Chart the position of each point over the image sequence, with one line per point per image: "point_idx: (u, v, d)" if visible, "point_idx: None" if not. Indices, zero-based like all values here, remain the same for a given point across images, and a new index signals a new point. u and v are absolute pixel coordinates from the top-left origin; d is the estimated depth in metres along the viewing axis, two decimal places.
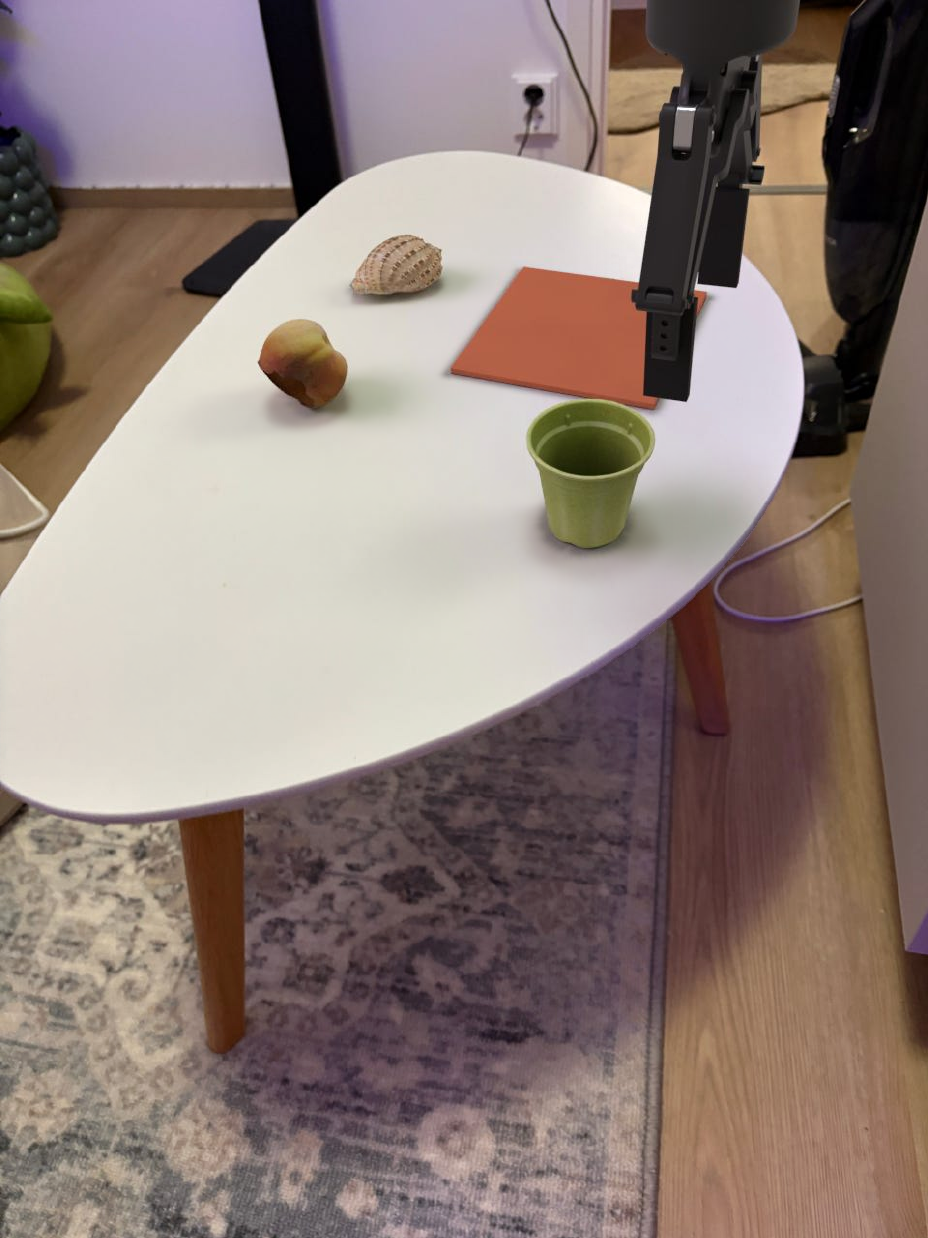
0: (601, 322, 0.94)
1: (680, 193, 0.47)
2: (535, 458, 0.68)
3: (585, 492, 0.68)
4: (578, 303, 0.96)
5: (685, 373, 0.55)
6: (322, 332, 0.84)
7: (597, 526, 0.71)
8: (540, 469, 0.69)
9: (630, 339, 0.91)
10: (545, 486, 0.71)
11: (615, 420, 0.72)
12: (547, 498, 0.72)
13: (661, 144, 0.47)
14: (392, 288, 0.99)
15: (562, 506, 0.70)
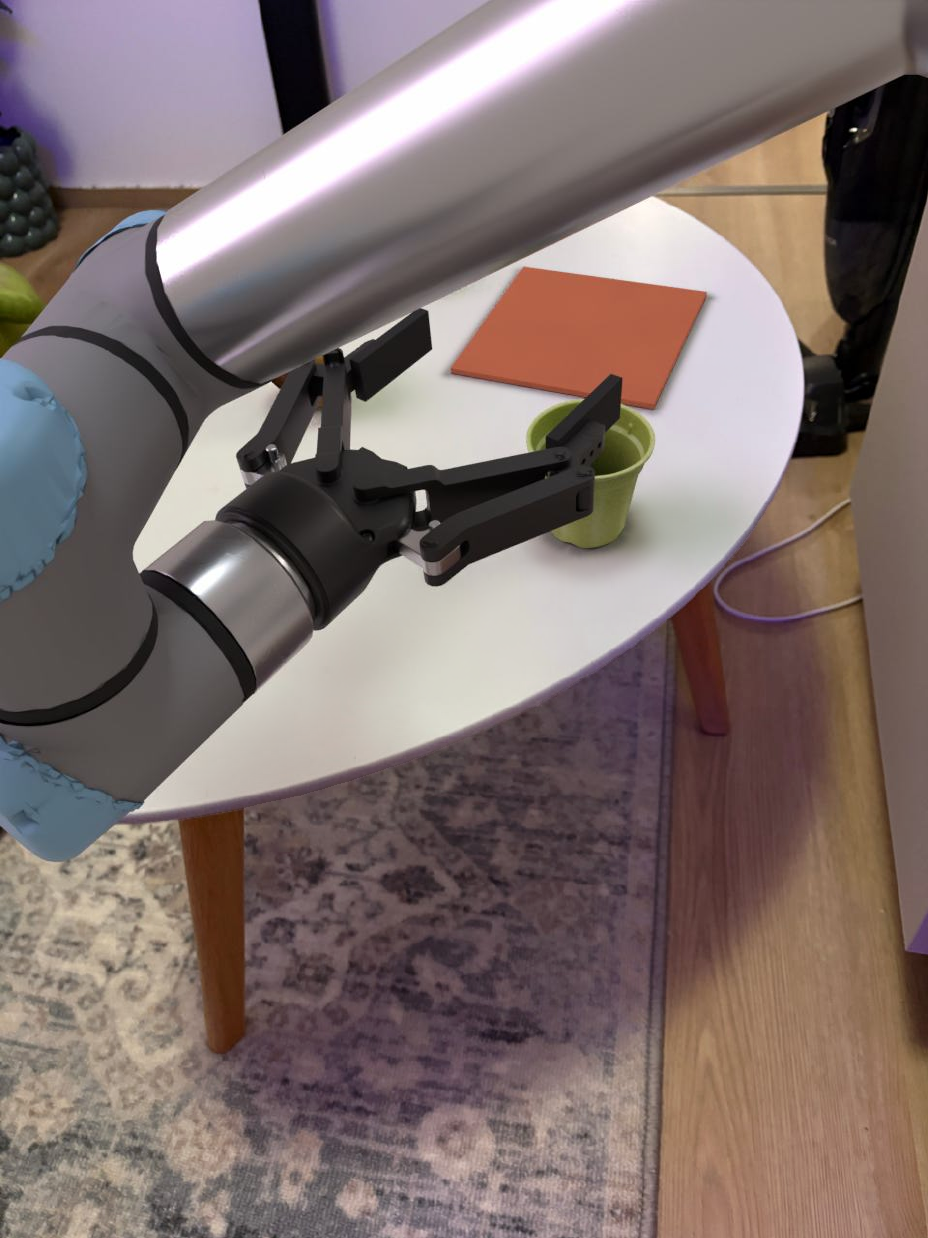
0: (601, 322, 0.94)
1: (496, 531, 0.46)
2: None
3: None
4: (578, 303, 0.96)
5: (603, 399, 0.51)
6: None
7: (597, 526, 0.71)
8: None
9: (630, 339, 0.91)
10: None
11: None
12: None
13: (461, 568, 0.46)
14: None
15: None
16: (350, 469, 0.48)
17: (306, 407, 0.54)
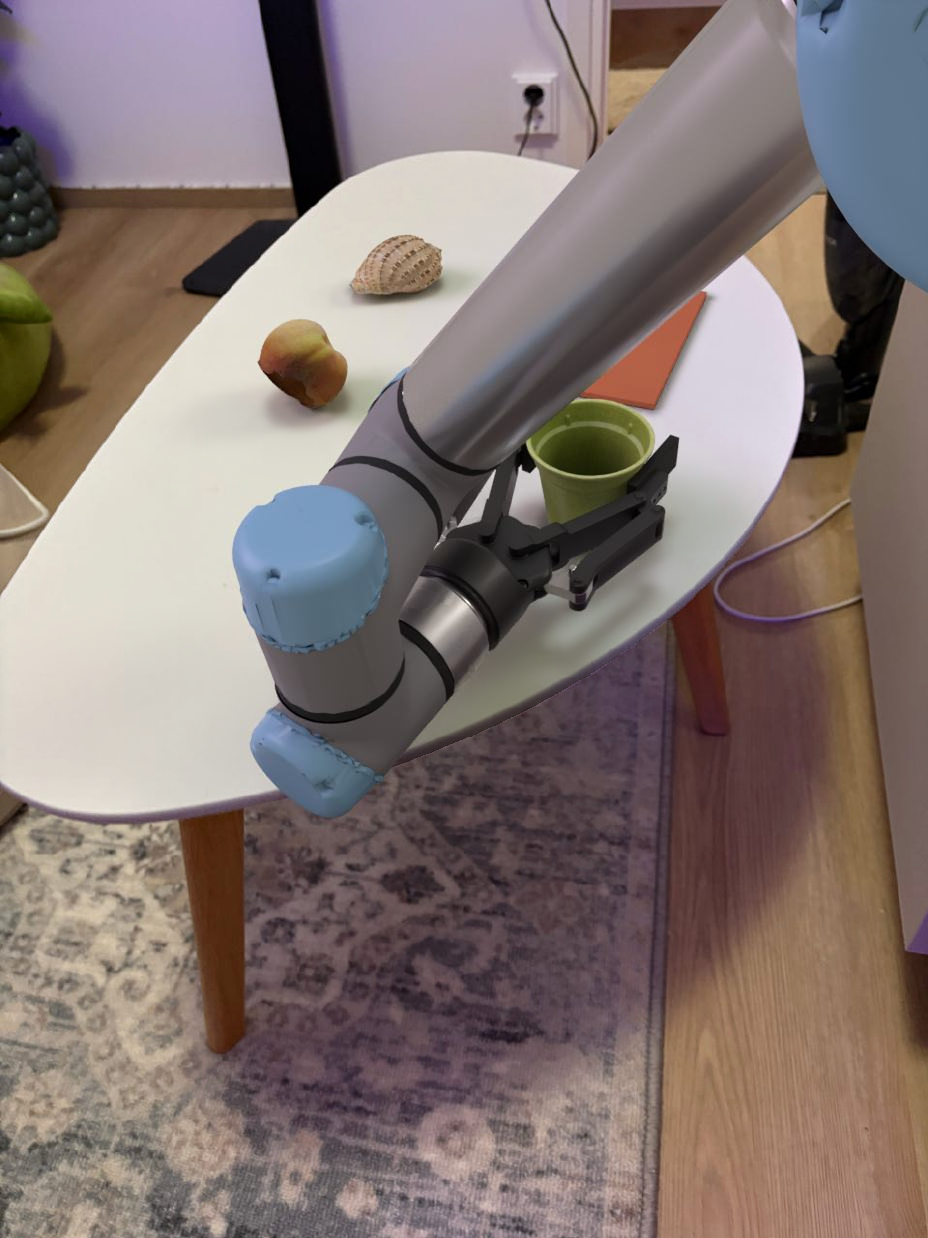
0: None
1: (612, 563, 0.64)
2: (535, 458, 0.68)
3: (585, 492, 0.68)
4: None
5: (666, 454, 0.69)
6: (322, 332, 0.84)
7: None
8: (540, 469, 0.69)
9: None
10: (545, 486, 0.71)
11: (615, 420, 0.72)
12: (547, 498, 0.72)
13: (592, 594, 0.64)
14: (392, 288, 0.99)
15: (562, 506, 0.70)
16: (501, 532, 0.65)
17: (480, 480, 0.71)
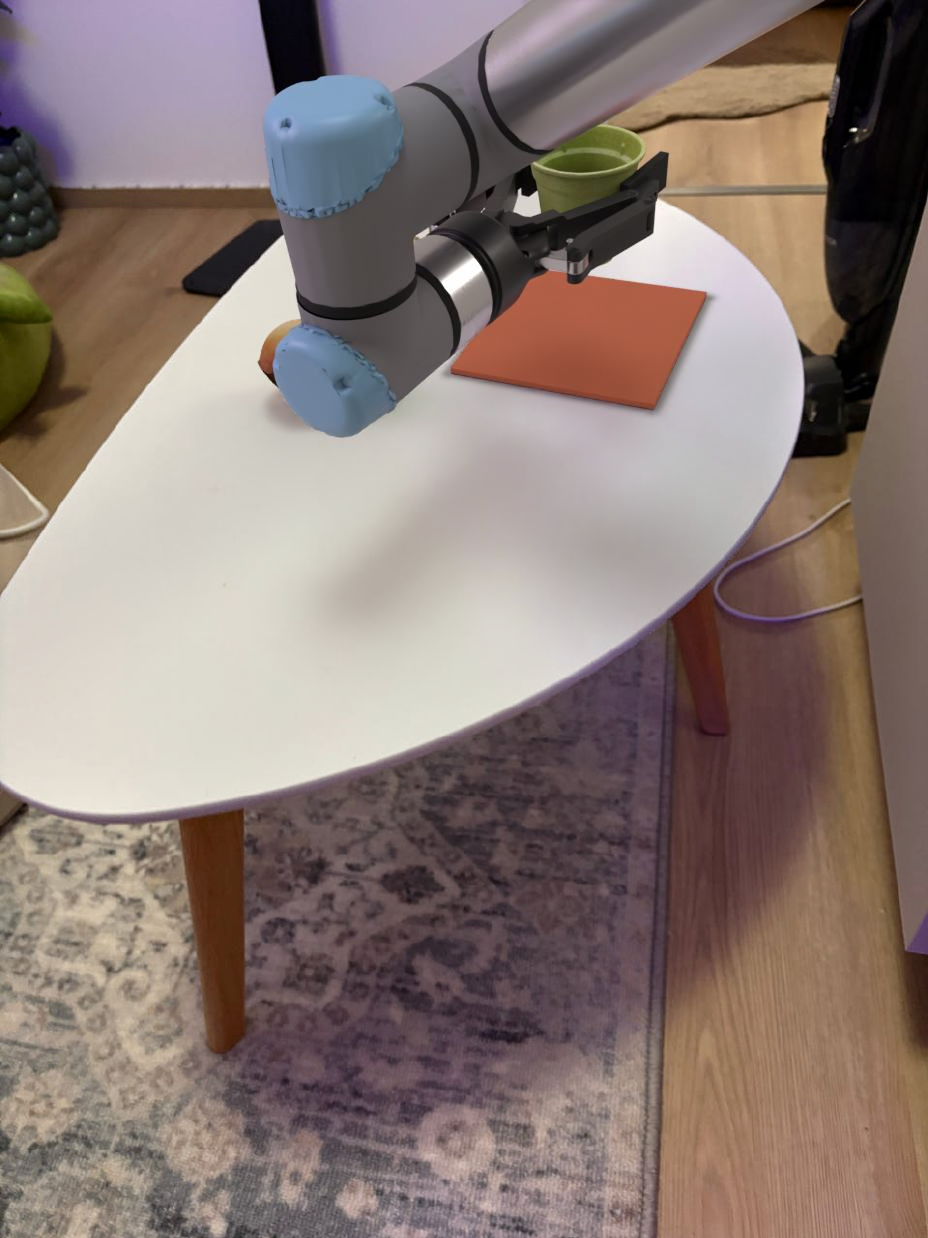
0: (601, 322, 0.94)
1: (606, 242, 0.68)
2: (534, 163, 0.72)
3: (581, 196, 0.73)
4: (578, 303, 0.96)
5: (656, 164, 0.74)
6: None
7: None
8: (538, 178, 0.73)
9: (630, 339, 0.91)
10: (543, 200, 0.75)
11: (608, 144, 0.77)
12: None
13: (588, 271, 0.68)
14: None
15: None
16: (503, 221, 0.70)
17: (482, 196, 0.76)
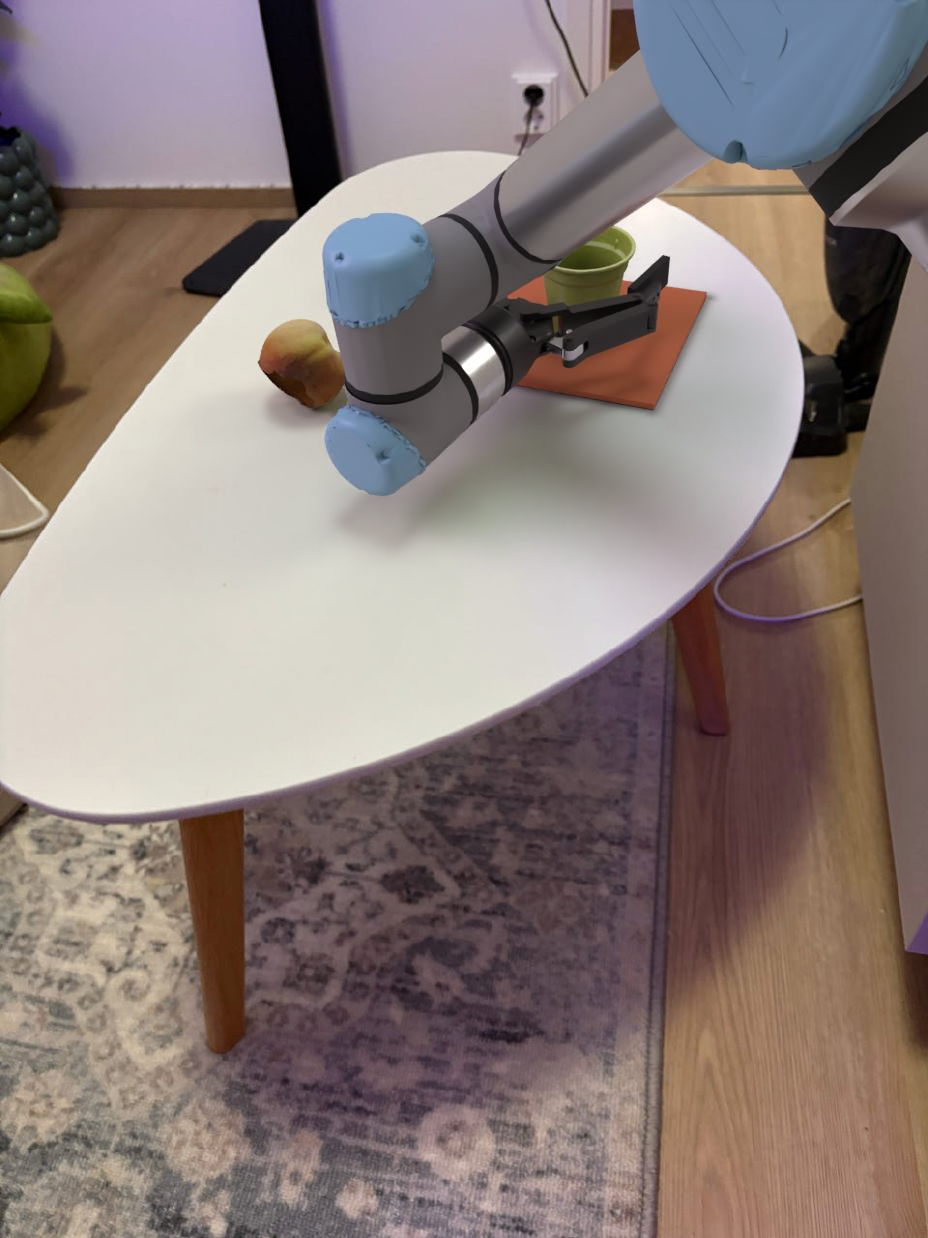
0: None
1: (603, 336, 0.80)
2: None
3: (580, 287, 0.86)
4: None
5: (659, 268, 0.85)
6: (322, 332, 0.84)
7: None
8: None
9: None
10: (548, 288, 0.88)
11: (604, 238, 0.90)
12: (550, 300, 0.89)
13: (583, 358, 0.80)
14: None
15: None
16: (514, 307, 0.82)
17: None
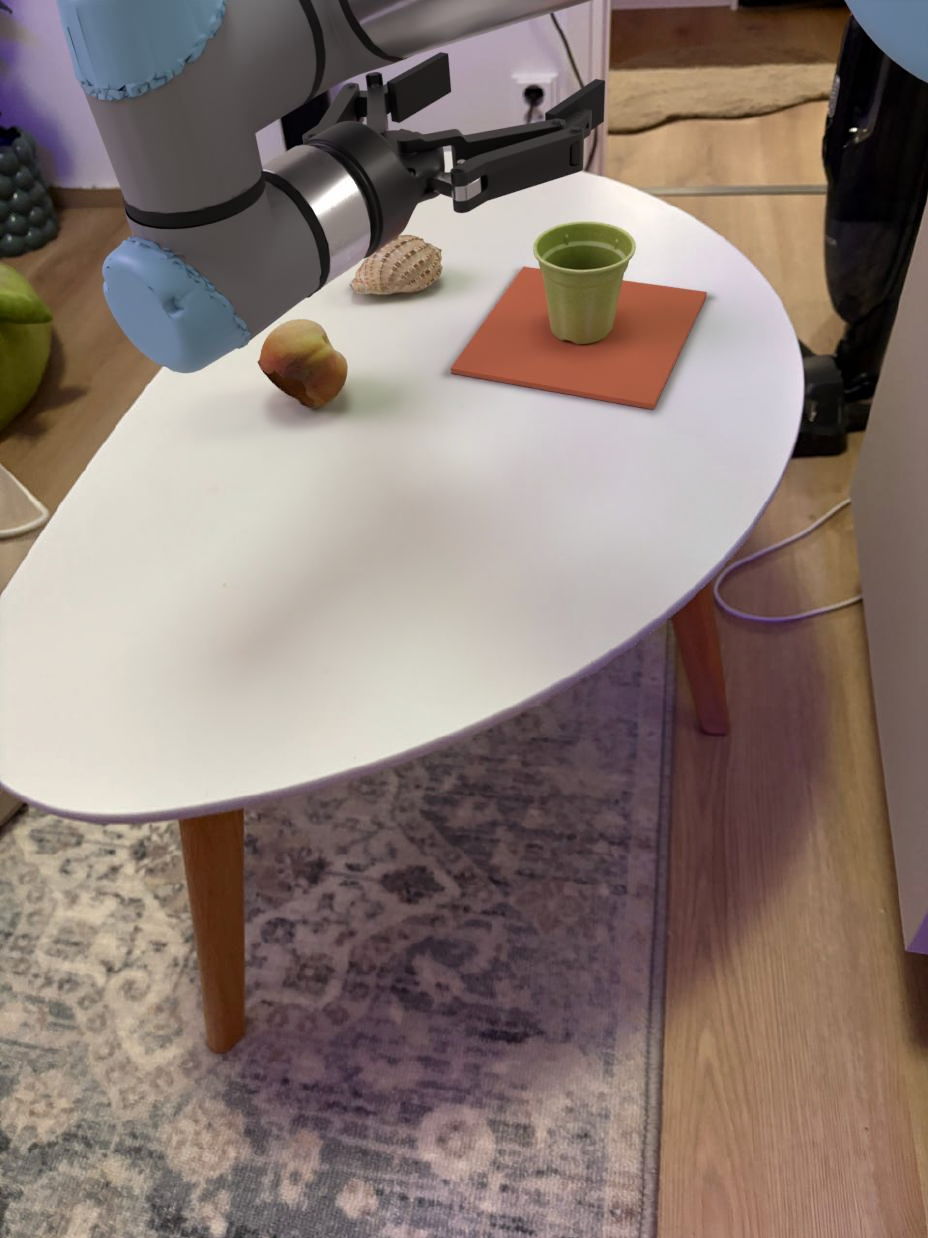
0: None
1: (508, 170, 0.59)
2: (540, 259, 0.85)
3: (580, 287, 0.86)
4: None
5: (590, 93, 0.64)
6: (322, 332, 0.84)
7: (589, 321, 0.89)
8: (544, 271, 0.86)
9: (630, 339, 0.91)
10: (548, 288, 0.88)
11: (604, 238, 0.90)
12: (550, 300, 0.89)
13: (481, 201, 0.59)
14: (392, 288, 0.99)
15: (562, 304, 0.88)
16: (393, 139, 0.62)
17: (353, 119, 0.68)
